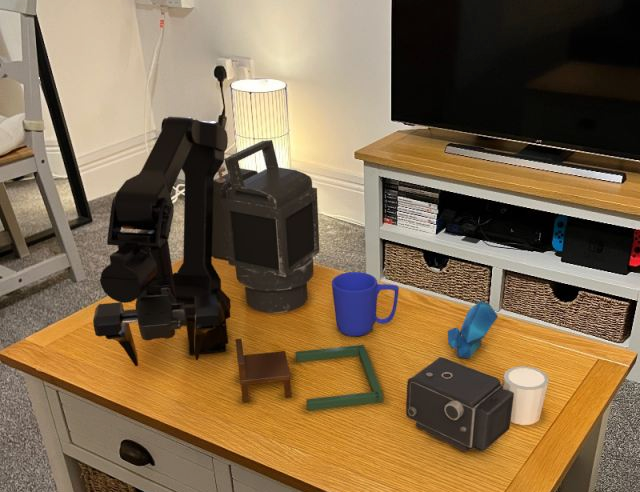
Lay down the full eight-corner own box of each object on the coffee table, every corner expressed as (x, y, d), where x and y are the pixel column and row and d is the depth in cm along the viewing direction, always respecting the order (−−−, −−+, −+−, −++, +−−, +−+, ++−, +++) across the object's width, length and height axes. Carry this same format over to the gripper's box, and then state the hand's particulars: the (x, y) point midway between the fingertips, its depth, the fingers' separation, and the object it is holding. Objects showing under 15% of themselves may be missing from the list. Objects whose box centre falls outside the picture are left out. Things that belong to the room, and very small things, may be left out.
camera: (399, 444, 122) (484, 475, 113) (393, 379, 116) (482, 406, 108) (439, 412, 129) (521, 439, 120) (435, 349, 124) (521, 372, 115)
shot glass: (533, 432, 123) (538, 394, 119) (492, 418, 126) (496, 380, 122) (550, 410, 128) (555, 373, 124) (511, 397, 131) (515, 361, 127)
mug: (397, 341, 146) (398, 292, 141) (331, 340, 147) (330, 291, 141) (397, 320, 153) (398, 272, 148) (334, 319, 154) (333, 271, 148)
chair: (242, 403, 129) (238, 363, 125) (239, 377, 136) (235, 338, 132) (292, 398, 131) (289, 358, 127) (286, 372, 137) (284, 334, 133)
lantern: (290, 322, 152) (279, 167, 137) (212, 304, 159) (194, 153, 143) (328, 291, 164) (322, 144, 148) (254, 274, 170) (241, 132, 155)
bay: (307, 411, 127) (307, 403, 127) (295, 358, 141) (295, 351, 140) (383, 402, 130) (383, 394, 129) (363, 351, 143) (363, 344, 142)
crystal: (439, 328, 137) (463, 286, 144) (441, 365, 143) (464, 323, 150) (480, 337, 134) (503, 294, 142) (481, 374, 140) (502, 331, 148)
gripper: (80, 302, 110) (101, 396, 119) (218, 290, 114) (229, 382, 122) (88, 268, 120) (107, 358, 128) (215, 258, 123) (226, 346, 131)
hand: (167, 362), depth 127 cm, fingers open, 9 cm apart
